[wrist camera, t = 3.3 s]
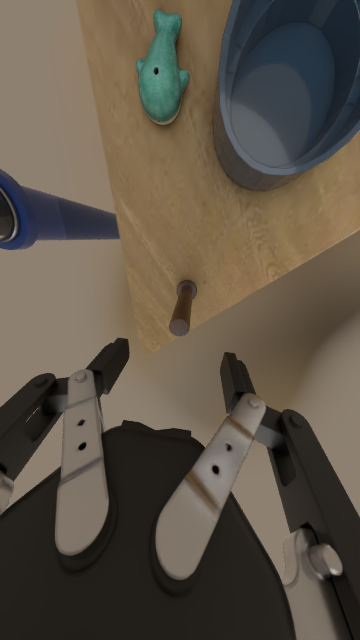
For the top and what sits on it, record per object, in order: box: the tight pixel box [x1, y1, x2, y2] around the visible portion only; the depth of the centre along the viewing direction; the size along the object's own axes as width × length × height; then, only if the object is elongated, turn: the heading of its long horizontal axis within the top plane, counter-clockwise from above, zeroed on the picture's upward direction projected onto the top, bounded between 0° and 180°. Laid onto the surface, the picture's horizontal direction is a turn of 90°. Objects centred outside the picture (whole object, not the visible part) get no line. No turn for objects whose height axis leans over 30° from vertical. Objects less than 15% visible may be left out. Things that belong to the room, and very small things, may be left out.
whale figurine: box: [136, 9, 189, 125], centre depth 16 cm, size 6×7×4 cm
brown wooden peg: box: [169, 280, 197, 336], centre depth 23 cm, size 4×4×14 cm
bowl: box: [213, 0, 360, 191], centre depth 15 cm, size 14×14×6 cm
